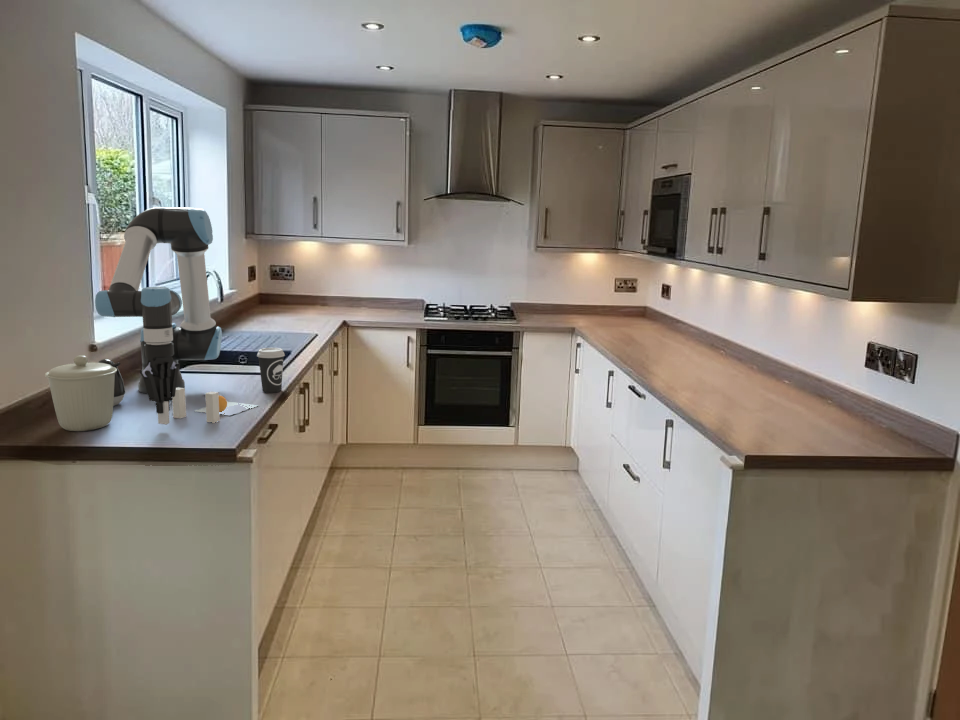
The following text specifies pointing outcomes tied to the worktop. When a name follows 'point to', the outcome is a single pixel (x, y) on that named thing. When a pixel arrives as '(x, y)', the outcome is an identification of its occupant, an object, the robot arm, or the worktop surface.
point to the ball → (222, 403)
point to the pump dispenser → (116, 382)
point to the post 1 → (179, 403)
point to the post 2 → (212, 407)
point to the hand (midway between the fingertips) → (164, 423)
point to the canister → (82, 394)
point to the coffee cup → (271, 369)
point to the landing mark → (228, 406)
